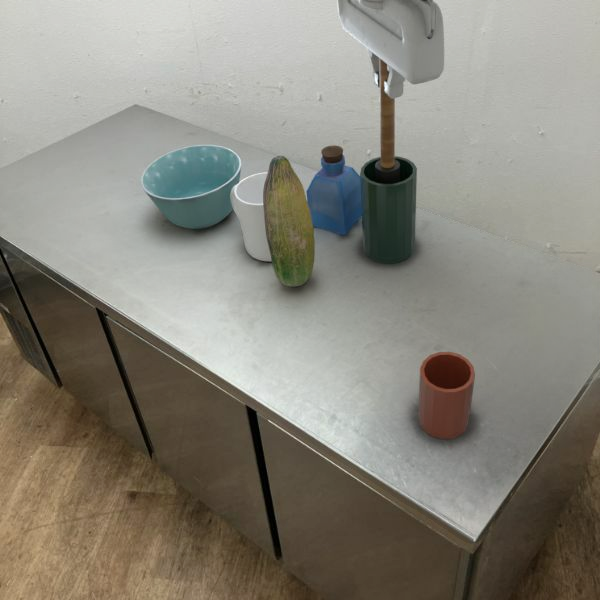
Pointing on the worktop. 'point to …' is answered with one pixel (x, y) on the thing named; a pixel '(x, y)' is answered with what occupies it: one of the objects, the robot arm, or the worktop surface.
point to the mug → (252, 214)
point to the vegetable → (288, 224)
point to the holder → (445, 394)
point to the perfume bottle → (335, 193)
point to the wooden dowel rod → (387, 135)
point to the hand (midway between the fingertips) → (387, 90)
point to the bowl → (193, 184)
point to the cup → (388, 213)
